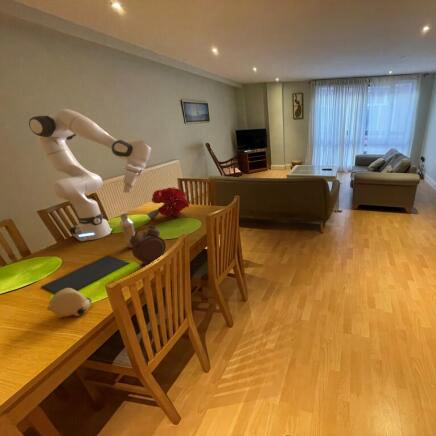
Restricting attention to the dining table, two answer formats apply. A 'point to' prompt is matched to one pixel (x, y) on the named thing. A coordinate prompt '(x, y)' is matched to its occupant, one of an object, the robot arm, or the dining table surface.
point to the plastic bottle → (127, 228)
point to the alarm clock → (147, 245)
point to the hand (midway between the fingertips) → (125, 192)
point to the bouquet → (169, 202)
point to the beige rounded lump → (69, 303)
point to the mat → (85, 274)
